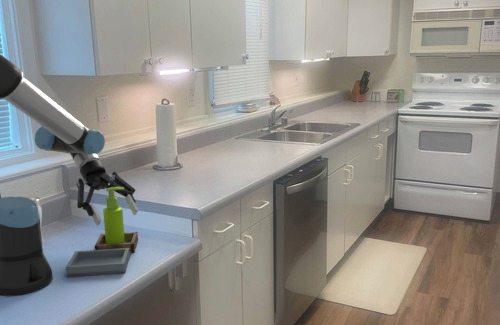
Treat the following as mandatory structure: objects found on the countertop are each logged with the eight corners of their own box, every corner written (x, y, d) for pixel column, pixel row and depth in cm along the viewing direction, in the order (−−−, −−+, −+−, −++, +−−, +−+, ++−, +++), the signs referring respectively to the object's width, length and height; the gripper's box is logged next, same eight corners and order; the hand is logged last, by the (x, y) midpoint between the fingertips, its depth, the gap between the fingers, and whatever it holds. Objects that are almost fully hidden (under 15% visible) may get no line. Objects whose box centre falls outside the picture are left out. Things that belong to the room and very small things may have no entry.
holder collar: (95, 255, 153) (94, 246, 153) (101, 242, 164) (100, 234, 164) (134, 252, 155) (133, 243, 154) (138, 240, 166) (137, 231, 165)
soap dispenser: (129, 248, 158) (125, 188, 154) (107, 252, 156) (102, 191, 152) (127, 242, 163) (122, 184, 159) (105, 246, 161) (100, 186, 157)
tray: (66, 277, 138) (65, 267, 137) (76, 260, 150) (75, 251, 149) (124, 273, 140) (124, 263, 139) (129, 257, 151) (129, 247, 151)
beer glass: (24, 240, 168) (19, 197, 165) (46, 237, 170) (41, 195, 167) (21, 247, 162) (16, 203, 159) (44, 244, 164) (39, 201, 161)
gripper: (118, 166, 175) (146, 214, 168) (50, 179, 157) (78, 234, 150) (126, 153, 170) (154, 202, 163) (56, 165, 153) (85, 221, 146)
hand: (118, 217), depth 157 cm, fingers open, 13 cm apart
